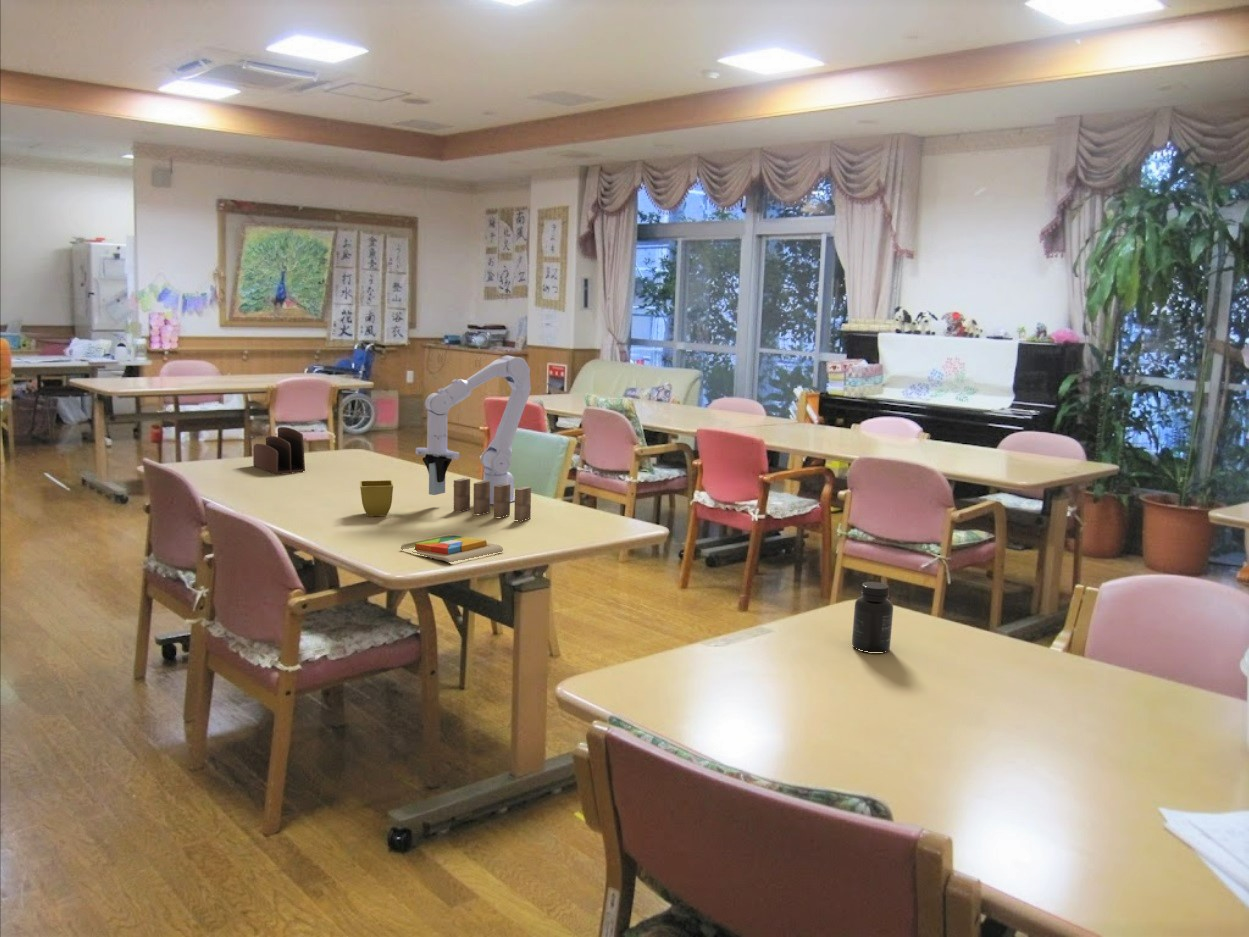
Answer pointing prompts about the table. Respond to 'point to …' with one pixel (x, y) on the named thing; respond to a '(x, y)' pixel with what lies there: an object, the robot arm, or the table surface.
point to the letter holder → (281, 452)
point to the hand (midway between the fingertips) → (437, 481)
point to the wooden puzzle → (452, 547)
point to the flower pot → (376, 497)
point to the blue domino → (435, 481)
